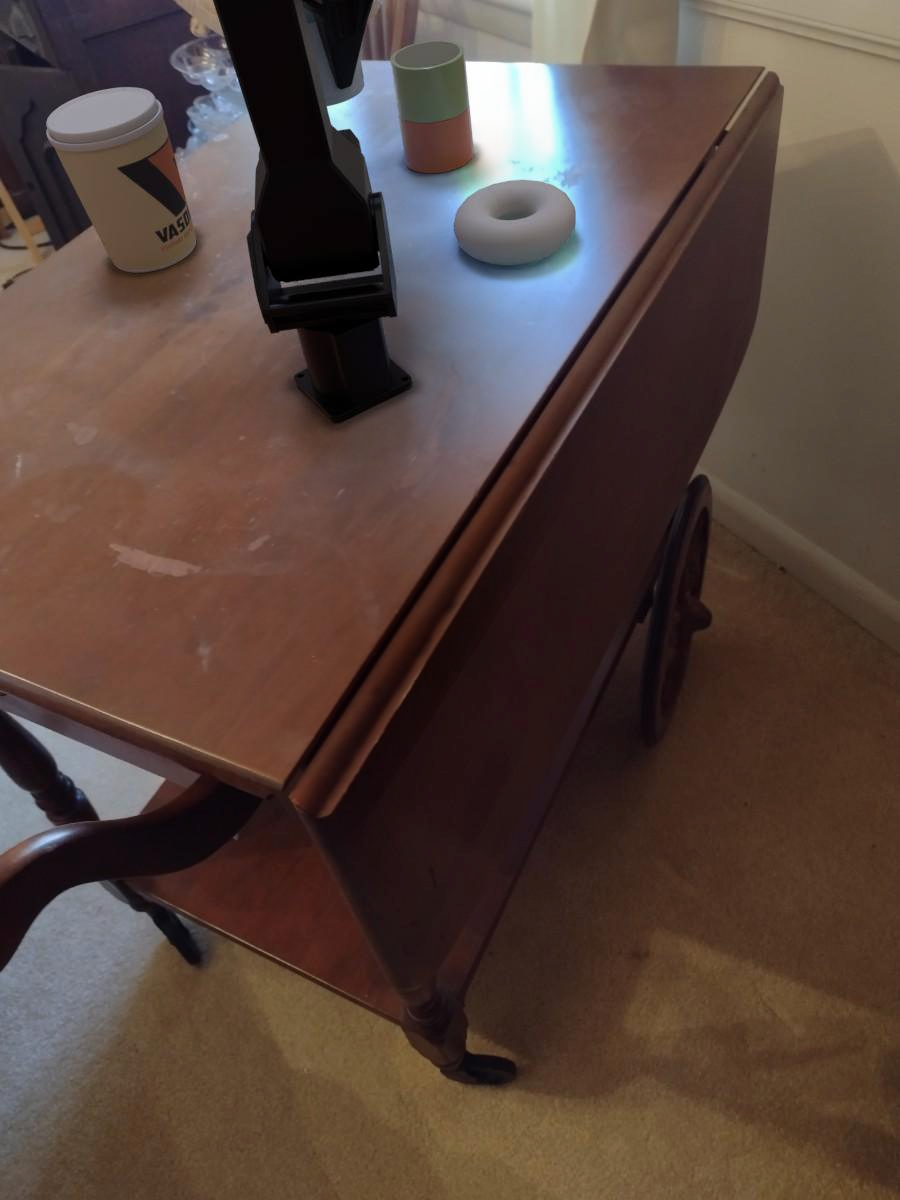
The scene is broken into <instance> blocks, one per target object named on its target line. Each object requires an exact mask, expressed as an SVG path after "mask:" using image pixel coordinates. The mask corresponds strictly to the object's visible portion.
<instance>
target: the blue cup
mask: <svg viewBox="0 0 900 1200" xmlns="http://www.w3.org/2000/svg"><path fill="white" fill-rule="evenodd" d="M304 11H305V15H306V20H307V24H308V28H309V32H310V37H311V41H312V45H313V50H314V54H315V58H316V62H317V67H318V71H319V75H320V79H321V84H322V88H323V92H324V97H325V101H326V105H327V107H332V106H336V105H339V104H342V103H344V102H347V101H349V100H351V99H353V98H355V97H357V96H358V95H359V94H360V93H361V92H362V91H363V90H364V88H365V79H364V78H365V76H364V70H363V66H362V60H361V52H360V53H359V57H358V61H357V65H356V70H355V74H354V78H353V82H352V85H351V86H350V87H347V88H345V89H342V90H341V89H339V88H337V86H336V83H335V80H334V78H333V75H332V72H331V69H330V66H329V63H328V60H327V57H326V54H325V50H324V47H323V44H322V41H321V38H320V34H319V31H318V28H317V25H316V22H315V18H314V16H313V14H312V13H311V12H309V11H308V10H307V9H305V8H304Z"/></svg>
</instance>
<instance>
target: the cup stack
mask: <svg viewBox="0 0 900 1200" xmlns="http://www.w3.org/2000/svg"><path fill="white" fill-rule="evenodd" d="M389 60H390V61H389V62H390V67H391V69H390V70H391V74H392V81H393V87H394V94H395V101H396V109H397V115H398V121H399V122H398V123H399V128H400V134H401V135H400V136H401V142H402V149H403V155H404V160H405V165H406V166H407V168H409V169H410V170H412V171H413V172H417V173H420V174H440V173H441V174H442V173H447V172H451V171H455V170H457V169H460V168H462V167H463V166H465V165H467V164H468V163H470V162H471V161H472V159H473V158H474V156H475V150H474V149H475V147H474V138H473V128H472V127H473V126H472V116H471V107H470V105H471V104H470V97H469V95H470V94H469V86H468V76H467V73H468V72H467V63H466V53H465V48H464V46H463V45H462V44H460V43H458V42H455V41H451V40H441V39H440V40H439V39H437V40H436V39H435V40H427V41H426V40H425V41H421V42H416V43H413V44H409V45H406V46H404V47H402V48H399V49H398V50H397V51H396V52H394V53H393V54H392V55H391V57H390V59H389Z"/></svg>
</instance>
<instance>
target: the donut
mask: <svg viewBox="0 0 900 1200" xmlns="http://www.w3.org/2000/svg"><path fill="white" fill-rule="evenodd" d="M576 221H577V213H576V207H575V205H574V202H573V201H572V200H571V199H570V197H569V196H568V194H567V193H566V192H565V191H563V190H562V189H560V188H559V187H557V186H555V185H554V184H552V183H548V182H544V181H541V180H532V179H514V180H512V179H511V180H505V181H500V182H496V183H493V184H490V185H487V186H485V187H482V188H479V189H477V190H476V191H475V192H473V193H471V194H470V195H468V196H467V197H466V198H465V199H464V200H463V202H462V203H461V205H460V206H459V207H458V208H457V209H456V213H455V216H454V221H453V233H454V237H455V239H456V241H457V243H458V245H459V246H460V248H461V250H462V251H464V252H465V253H466V254H468V255H469V256H470V257H472V258H473V259H475V260H478V261H481V262H484V263H486V264H490V265H498V266H516V265H524V264H528V263H533V262H538V261H540V260H543V259H545V258H547V257H549V256H552V255H553V254H554V253H556V252H557V251H558V250H560V249H561V248H563V247H564V246H565V245H566V244H567V243H568V241H569V239H570V238H571V236H572V234H574V232H575V229H576Z"/></svg>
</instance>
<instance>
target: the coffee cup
mask: <svg viewBox="0 0 900 1200" xmlns="http://www.w3.org/2000/svg"><path fill="white" fill-rule="evenodd" d="M46 137H47V139H48V141H49V143H50V145H51V146H52V147H53V148H54V149H55V152H56V154H57V156H58V158H59V161H60V162H61V163H60V164H62V167H63V169H64V171H65V173H66V175H67V177H68V179H69V180H70V183H71V184H72V187H73V189H74V190H75V193H76V195H77V197H78V199H79V200H80V203H81V204H82V207H83V208H84V210H85V212H86V215H87V216H88V219H89V220H90V222H91V224H92V226H93V229H94V230H95V231H96V233H97V235H98V237H99V239H100V241H101V243H102V246H103V248H104V250H105V251H106V253H107V255H108V256H109V259H110V260H111V262H112V264H113V265H114V266H115V267H116V268H117V269H119V270H120V271H123V272H126V273H133V274H136V273H138V274H139V273H140V274H141V273H149V272H155V271H159V270H163V269H166V268H169V267H171V266H173V265H175V264H177V263H180V262H181V261H182V260H184V259H186V258H187V257H188V256H189V255H190V254H191V253H192V252H193V251H194V249H195V247H196V245H197V235H196V232H195V228H194V223H193V220H192V216H191V213H190V209H189V205H188V201H187V197H186V194H185V190H184V187H183V182H182V179H181V175H180V171H179V168H178V164H177V160H176V157H175V153H174V150H173V146H172V142H171V139H170V135H169V132H168V129H167V125H166V122H165V119H164V109H163V106H162V104H161V102H160V100H159V99H157V98H156V96H155V95H154V94H153V92H151V91H150V90H148V89H145V88H141V87H135V86H134V87H132V86H121V87H112V88H107V89H101V90H97V91H92V92H89V93H86V94H83V95H81V96H77V97H75V98H73V99H71V100H69V101H66V102H65V103H63V104H61V105H60V106H58V107H57V108H56V109H54V110H53V111H52V112H51V113H50V114H49V116H48V117H47V119H46Z"/></svg>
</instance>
